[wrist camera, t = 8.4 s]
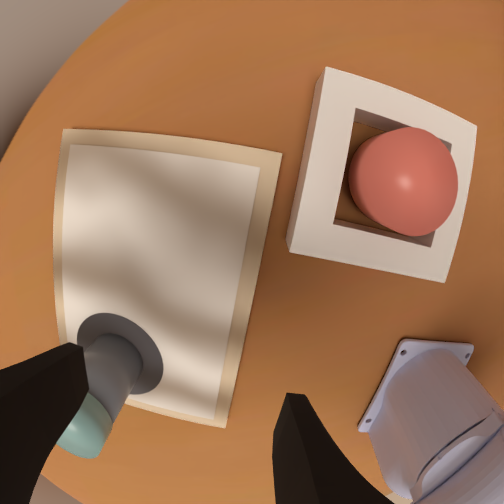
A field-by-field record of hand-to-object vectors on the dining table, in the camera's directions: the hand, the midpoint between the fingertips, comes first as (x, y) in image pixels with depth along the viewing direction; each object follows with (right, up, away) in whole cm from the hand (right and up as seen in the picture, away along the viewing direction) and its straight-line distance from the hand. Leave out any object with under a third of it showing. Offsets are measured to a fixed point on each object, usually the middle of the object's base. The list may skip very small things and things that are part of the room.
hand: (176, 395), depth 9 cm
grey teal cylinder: (-7, -3, +10) cm, 12 cm away
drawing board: (-5, +2, +10) cm, 11 cm away
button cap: (+10, +9, +6) cm, 14 cm away
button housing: (+10, +9, +8) cm, 16 cm away
